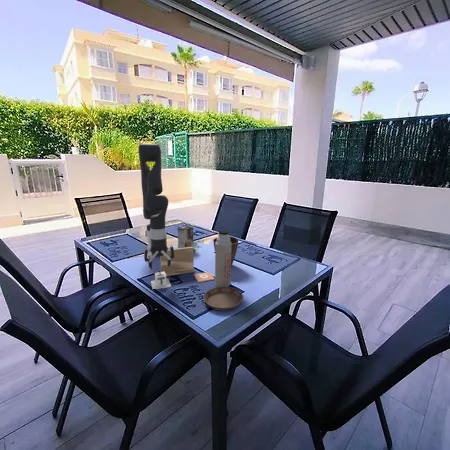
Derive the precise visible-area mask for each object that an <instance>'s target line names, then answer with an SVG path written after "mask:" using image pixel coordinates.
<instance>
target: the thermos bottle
mask: <svg viewBox="0 0 450 450" xmlns="http://www.w3.org/2000/svg"><path fill="white" fill-rule="evenodd" d="M229 235H230V234H229V231H228V230H219V231H218V238H217V237H216V238H217V242H216V243H215V249H214V255H215V257H214V259H215V260H214V261H215V262H214V264H215V265H214V279H215V280H214V284H215V286H216V287H230V285H231V276H232V275H231V274H232V273H231V272H232V266H231V244H232V243H231V242H230V238H229V237H230V236H229Z"/></svg>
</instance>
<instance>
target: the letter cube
mask: <svg viewBox="0 0 450 450" xmlns="http://www.w3.org/2000/svg"><path fill="white" fill-rule="evenodd" d="M166 278H167V276H166V274H165V271H164V272H161V271H158V272H154V280H155V283H156V286H161V285H167V281H166Z"/></svg>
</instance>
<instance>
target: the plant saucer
mask: <svg viewBox="0 0 450 450" xmlns="http://www.w3.org/2000/svg"><path fill="white" fill-rule="evenodd" d="M203 300H204V302H205V303H206V304H207V306H208V307H210V308H212V309H214V310H216V311H222V312H224V311H231V310H233V309H235V308H237V307H239V305H240V304H241V303H242V301H243V300H244V295H243V293H242V292H241V291H240V290H239V289H236V288H233V287H230V286H228V287H218V286H216V287H213V288H210V289H209V290H207V291H206V292H205V293H204V295H203Z"/></svg>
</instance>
